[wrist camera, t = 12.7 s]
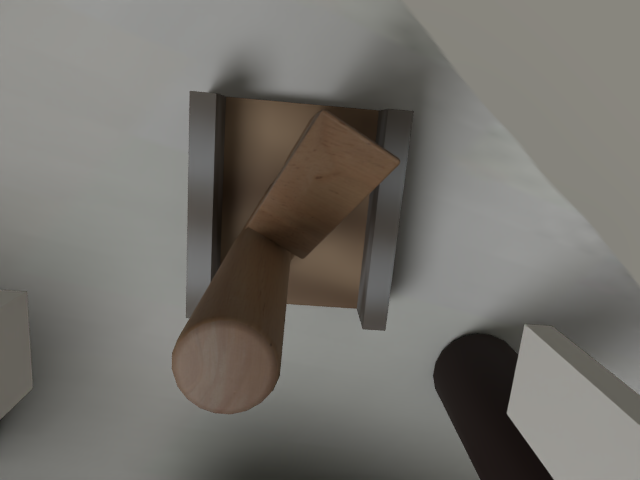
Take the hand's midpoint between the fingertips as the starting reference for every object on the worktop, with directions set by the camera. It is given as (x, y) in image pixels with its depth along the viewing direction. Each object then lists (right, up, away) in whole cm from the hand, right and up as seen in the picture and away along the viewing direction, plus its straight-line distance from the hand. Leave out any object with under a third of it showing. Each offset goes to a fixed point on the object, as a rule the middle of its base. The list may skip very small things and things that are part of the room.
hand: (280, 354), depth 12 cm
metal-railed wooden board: (-1, +5, +21) cm, 21 cm away
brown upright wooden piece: (-1, +6, +20) cm, 21 cm away
